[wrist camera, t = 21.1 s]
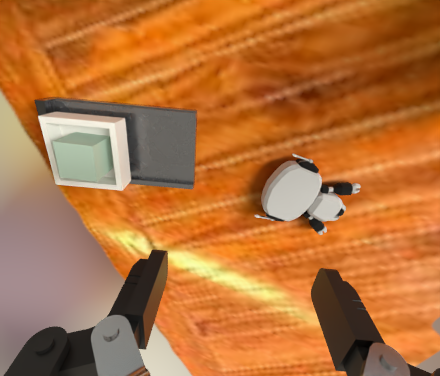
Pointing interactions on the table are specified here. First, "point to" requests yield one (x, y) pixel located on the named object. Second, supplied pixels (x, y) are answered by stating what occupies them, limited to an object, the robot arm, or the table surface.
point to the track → (145, 138)
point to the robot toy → (303, 195)
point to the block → (83, 156)
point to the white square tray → (93, 124)
